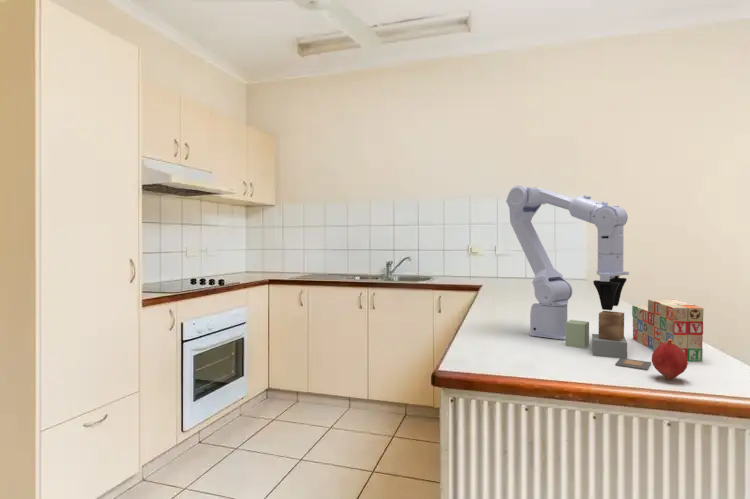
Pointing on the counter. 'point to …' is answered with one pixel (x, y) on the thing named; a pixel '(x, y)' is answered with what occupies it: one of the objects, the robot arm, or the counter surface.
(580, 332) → the sage block
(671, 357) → the onion
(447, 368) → the counter surface
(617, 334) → the walnut block
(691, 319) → the stack of blocks
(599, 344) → the slate base block
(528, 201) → the robot arm
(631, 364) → the card
